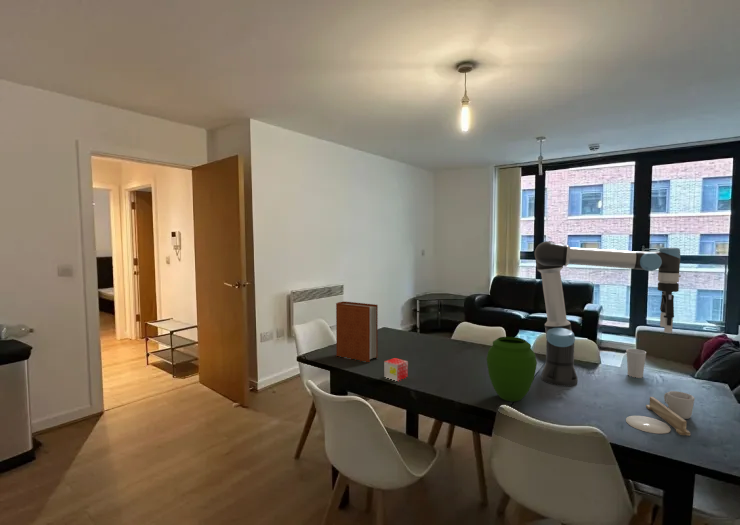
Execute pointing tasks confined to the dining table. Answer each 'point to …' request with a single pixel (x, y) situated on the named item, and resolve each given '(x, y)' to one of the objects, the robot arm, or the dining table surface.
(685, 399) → the cup
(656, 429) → the coaster
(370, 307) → the book
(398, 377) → the puzzle cube
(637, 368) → the cup
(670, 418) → the rail
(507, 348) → the vase
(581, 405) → the dining table surface
